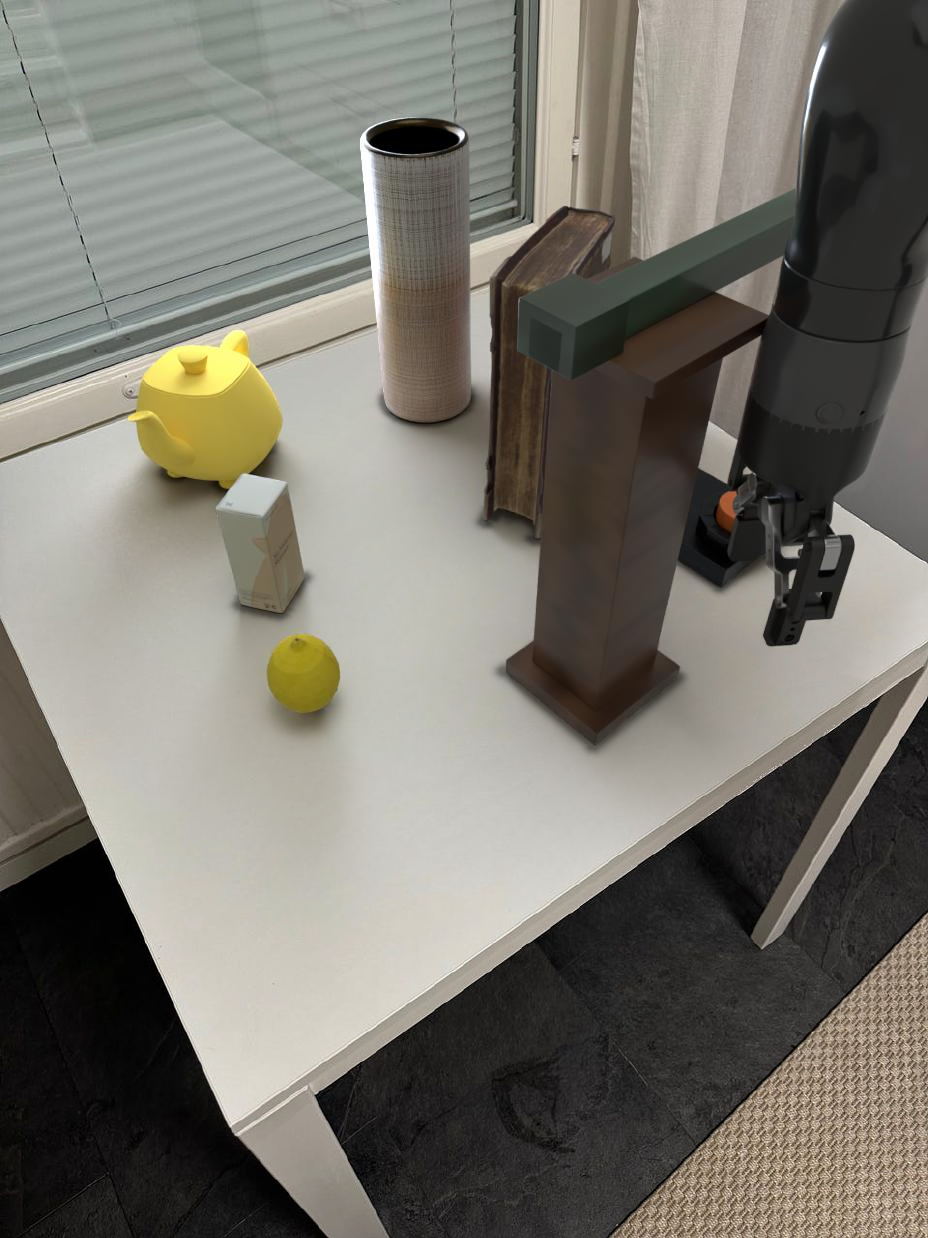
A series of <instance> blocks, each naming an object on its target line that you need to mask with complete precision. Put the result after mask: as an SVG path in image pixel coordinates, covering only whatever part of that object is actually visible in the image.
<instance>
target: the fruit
mask: <svg viewBox="0 0 928 1238" xmlns="http://www.w3.org/2000/svg"><path fill="white" fill-rule="evenodd" d="M340 670H341V669H340V664H339V661H338V658H337V656H336V655H335V653H334V652H333V650H332V649H331V647H330V646H329V645H328V644H327V643H325V642H324V641H323V640H322V639H320V638H318V637H317V636H315V635H312V634H311V635H310V634H307V633H297V634H296V633H295V634H292V635H289V636H287V637H285V638H283V639H282V640H281V641H280V642H278V643H277V645H276V646H275V647H274V649H273V650H272V652H271V653H270V656H269V660H268V663H267V667H266V680H267V686H268V688H269V690H270V692H271V694H272V696H273V698H275V700H276V701H277V702H278V703H279V704H280V705H282V706H283V707H285V708H286V709H288V710H289V711H292V712H296V713H300V714H305V713H306V714H308V713H312V712H316V711H319V710H320V709H322V708H324V707H326V706H327V705H328V704H329V703H330V702H331V701H332V700H333V698H334V696H335V694H336V693H337V691H338V689H339V686H340V681H341V680H340V679H341V671H340Z"/></svg>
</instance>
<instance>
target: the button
mask: <svg viewBox="0 0 928 1238" xmlns="http://www.w3.org/2000/svg"><path fill="white" fill-rule="evenodd" d="M736 496H737V493H736V491H735V492H730V491H729V492H727V493H725V494H724V495H723V496H722V497H721V498H720V501H719V505H718V509H717V513H716V520H717V522H718V524H719V525H720V526H721V527H722V528H724V529H726V530H727V531H729V532H731V533H732V529H733V525H734V521H735V516H736V515H737V514H735V513H734V511H733V507H732V504H733V500H734V498H735V497H736Z"/></svg>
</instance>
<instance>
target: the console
mask: <svg viewBox="0 0 928 1238" xmlns="http://www.w3.org/2000/svg"><path fill="white" fill-rule="evenodd" d="M727 492H729V489H728V486H727V482H724V481H722V480H721V479H719V478H718V477H716V476H715V475H712V474H710V473H709V472H707V471H705V470H704V469H702V468H700V467H698V472H697V476H696V480H695V485H694V489H693V494H692V498H691V503H690V507H689V512H688V516H687V520H686V525H685V529H684V534H683V538H682V543H681V547H680V551H679V556H678V560H677V562H680V563H681V564H683V565H685V566H686V567H688V568H689V569H691V570H692V571H694V572H695V573H697V574H698V575H700V576H701V577H703V578H705V579H706V580H708V581H709V582H711V583H712V584H714V585H715V586H717V587H718V588H723V587H724V586H725V585H727V584H728V583H729V582H730V581H732V580H733V579H734V578H736V577H737V576H739V575H740V574H741V573H742V572H744V571H745V570H746V569H747V568H749V567H750V566H751V565H753V564H754V563H755V562H756V561H758V560H759V559H760V558H762V557H766V536H765V540H764V543H763V547H762V551H761V554H760V557H759V558H758V559H756V560H752V561H736V562H734V561H731V560H730V557H729V555H728V553H727V550H728V546H729V542H730V538H731V532H729V531H727V530H726V529H724V528H722V527H721V526H720V525H719V524H718V522H717V520H716V513H717V509H718V505H719V501H720V498H721V497H722V496H723V495H724V494H725V493H727Z"/></svg>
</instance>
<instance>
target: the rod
mask: <svg viewBox="0 0 928 1238" xmlns="http://www.w3.org/2000/svg"><path fill="white" fill-rule="evenodd" d="M795 197H796V187H795V188H792V189H791V190H789V191H786V192H784V193H782V194H780V195H778V196H776V197H774V198H771V199H770V200H767V201H765V202H764V203H761V204H759V205H757V206H755V207H753V208H751V209H748V210H747V211H744V212H742V213H740V214H738V215H736V216H734V217H732V218H730V219H728V220H726V221H724V222H722V223H719V224H718V225H716V226H713V227H710V228H709V229H707V230H705V231H702V232H700V233H699V234H696V235H694V236H692V237H690V238H687V239H685V240H684V241H682V242H680V243H677V244H676V245H674V246H671V247H669V248H667V249H664V250H663V251H661V252H658V253H657V254H654V255H653V256H650V257H648V258H646V259H643V260H644V261H642V262H640V263H638V264H636V265H634V266H631V267H629V268H627V269H625V270H623V271H621V272H619V273H617V274H615V275H613V276H610V277H608V278H606V279H604V280H602V281H600V282H598V283H596V284H595V283H593V282H591V281H589V280H587V279H585V278H582V277H580V276H578V275H576V274H574V273H572V274H570V275H568V276H566V277H563V278H561V279H559V280H557V281H555V282H553V283H550V284H548V285H546V286H544V287H542V288H540V289H537V290H535V291H533V292H531V293H529V294H527V295H524V296H522V297H520V298H519V313H518V341H517V351H519V352H521V353H522V354H524V355H526V356H528V357H530V358H531V359H533V360H535V361H537V362H539V363H540V364H542V365H544V366H546V367H548V368H549V369H551V370H553V371H555V372H556V373H558V374H560V375H562V376H564V377H565V378H567V379H569V380H573V379H575V378H577V377H579V376H581V375H583V374H585V373H586V372H588V371H590V370H592V369H594V368H596V367H598V366H599V365H601V364H603V363H605V362H607V361H609V360H611V359H612V358H614V357H616V356H618V355H620V354H622V353H623V350H624V342H625V339H627V338H629V337H631V336H633V335H635V334H636V333H638V332H640V331H642V330H644V329H646V328H648V327H650V326H652V325H653V324H655V323H657V322H659V321H661V320H663V319H665V318H667V317H669V316H670V315H672V314H674V313H676V312H678V311H680V310H682V309H684V308H686V307H687V306H689V305H691V304H693V303H695V302H697V301H699V300H701V299H703V298H704V297H706V296H708V295H710V294H712V293H714V292H718V291H720V290H721V289H723V288H725V287H727V286H729V285H731V284H733V283H735V282H736V281H738V280H740V279H742V278H744V277H746V276H748V275H750V274H752V273H754V272H755V271H757V270H759V269H761V268H763V267H764V266H767V265H769V264H771V263H773V262H774V261H776V260H779V259H780V258H783V255H784V251H785V248H786V244H787V240H788V236H789V233H790V230H791V227H792V224H793V220H794V216H795Z"/></svg>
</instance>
